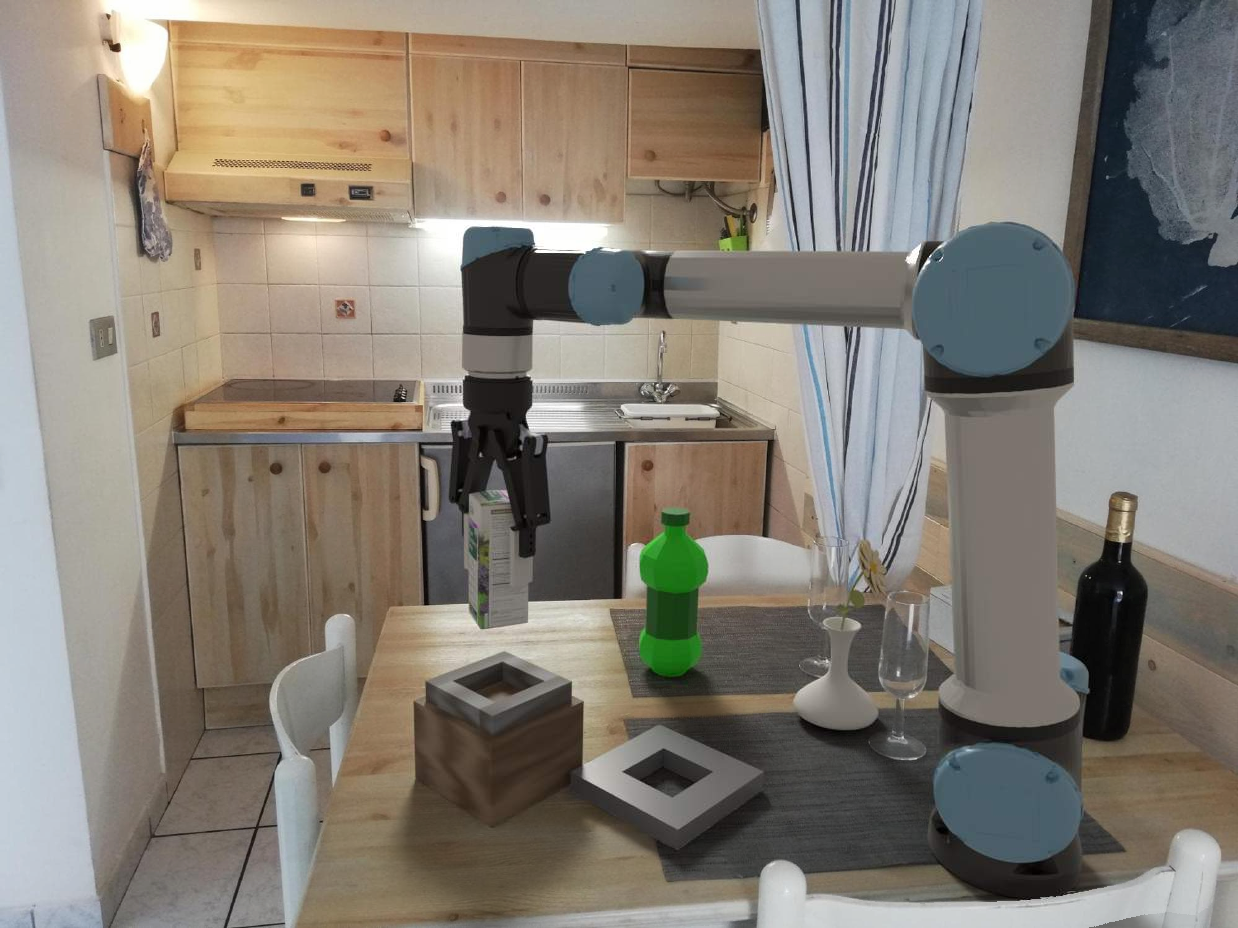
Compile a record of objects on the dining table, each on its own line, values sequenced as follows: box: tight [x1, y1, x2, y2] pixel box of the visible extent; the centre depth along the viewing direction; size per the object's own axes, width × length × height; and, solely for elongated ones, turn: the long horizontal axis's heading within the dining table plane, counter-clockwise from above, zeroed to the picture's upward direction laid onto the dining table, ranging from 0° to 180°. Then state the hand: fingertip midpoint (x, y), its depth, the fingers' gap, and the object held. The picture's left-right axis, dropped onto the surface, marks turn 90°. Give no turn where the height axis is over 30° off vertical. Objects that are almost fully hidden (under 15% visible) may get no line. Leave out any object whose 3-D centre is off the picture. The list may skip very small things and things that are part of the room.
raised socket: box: [413, 650, 585, 828], centre depth 110 cm, size 14×14×12 cm
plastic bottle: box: [638, 506, 709, 678], centre depth 139 cm, size 10×10×25 cm
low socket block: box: [569, 724, 765, 850], centre depth 109 cm, size 16×16×2 cm
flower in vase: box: [792, 539, 890, 731], centre depth 126 cm, size 13×11×25 cm
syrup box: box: [468, 489, 530, 630], centre depth 105 cm, size 6×6×14 cm
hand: (497, 574), depth 106 cm, fingers closed on syrup box, 7 cm apart
